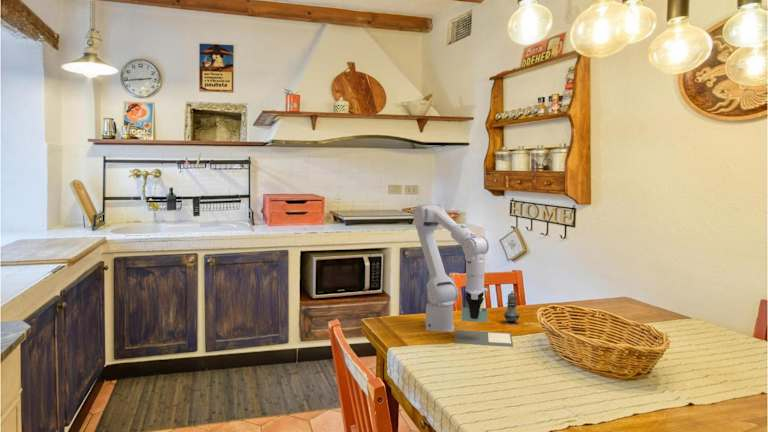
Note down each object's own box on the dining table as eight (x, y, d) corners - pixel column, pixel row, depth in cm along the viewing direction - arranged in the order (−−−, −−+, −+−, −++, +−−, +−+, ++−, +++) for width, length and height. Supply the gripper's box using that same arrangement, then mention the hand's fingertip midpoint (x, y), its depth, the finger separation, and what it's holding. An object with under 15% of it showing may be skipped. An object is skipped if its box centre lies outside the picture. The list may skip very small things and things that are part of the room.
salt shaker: (513, 326, 175) (513, 293, 175) (499, 323, 180) (500, 290, 179) (523, 323, 179) (523, 291, 178) (509, 320, 184) (510, 288, 183)
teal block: (461, 320, 158) (461, 310, 158) (462, 317, 162) (462, 306, 162) (487, 322, 156) (487, 311, 156) (487, 318, 160) (487, 308, 160)
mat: (454, 344, 156) (454, 342, 156) (456, 331, 170) (456, 329, 169) (513, 348, 152) (513, 346, 152) (510, 335, 166) (510, 332, 166)
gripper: (488, 279, 150) (487, 323, 151) (487, 271, 164) (486, 311, 165) (464, 278, 152) (464, 322, 153) (466, 270, 166) (465, 310, 167)
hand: (474, 316), depth 159 cm, fingers closed on teal block, 4 cm apart
